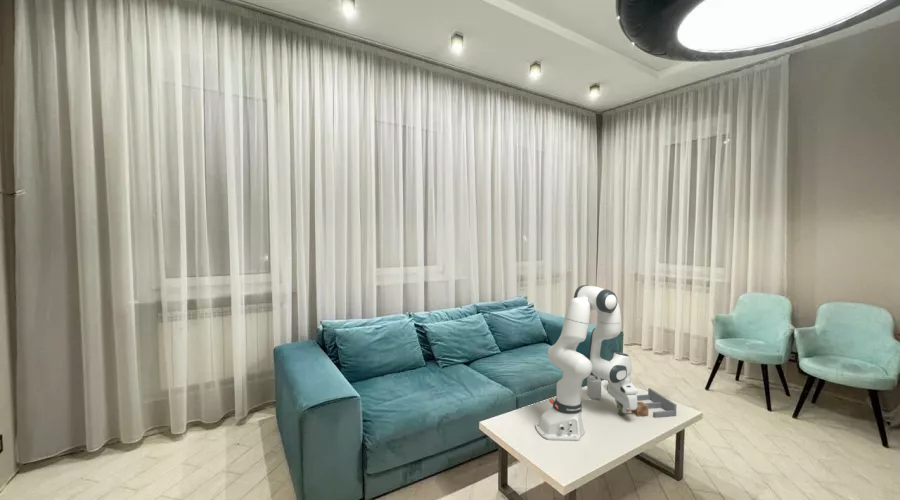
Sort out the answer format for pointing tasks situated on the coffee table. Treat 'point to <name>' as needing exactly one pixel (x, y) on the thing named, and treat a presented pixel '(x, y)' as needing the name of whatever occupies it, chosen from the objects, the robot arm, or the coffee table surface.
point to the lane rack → (659, 404)
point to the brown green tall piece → (640, 411)
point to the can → (593, 387)
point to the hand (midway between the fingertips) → (621, 410)
